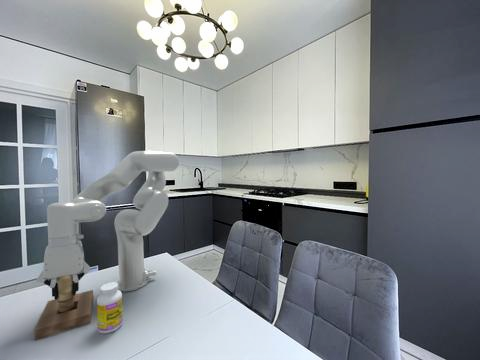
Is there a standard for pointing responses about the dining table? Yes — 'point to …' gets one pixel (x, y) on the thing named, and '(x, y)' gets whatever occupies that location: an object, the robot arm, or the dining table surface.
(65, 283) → the peg
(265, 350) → the dining table surface
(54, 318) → the board
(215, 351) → the dining table surface
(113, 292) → the supplement bottle
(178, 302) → the dining table surface
